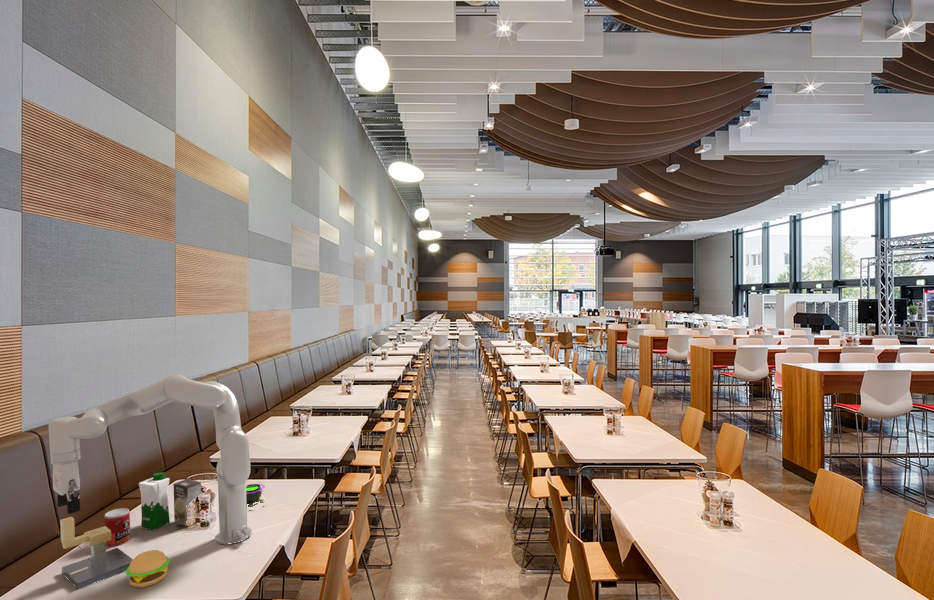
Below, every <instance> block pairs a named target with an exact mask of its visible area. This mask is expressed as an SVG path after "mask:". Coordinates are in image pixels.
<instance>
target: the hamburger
mask: <svg viewBox="0 0 934 600" xmlns="http://www.w3.org/2000/svg"><path fill="white" fill-rule="evenodd" d="M132 559H133V560H132V561H131V563H130V565H129V567H128V568H127V569H126V571H125V574H126V575H127V576H129V584H130V585H131V587H135V588H145V587H149V586H153V585H155V584H157V583H159V582H161V581H162V580H163V579H164V578H165V577H166V576H167V572H168V570H169V569H168V566H169V564H170V559H169V557H168V556H167V555H166V554H165V553H164V552H163V551H160V550H158V549H151V550H146V551H143V552H141V553H139V554H137V555H136V556H135V557H134V558H132Z"/></svg>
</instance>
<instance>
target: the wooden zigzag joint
mask: <svg viewBox="0 0 934 600" xmlns="http://www.w3.org/2000/svg"><path fill="white" fill-rule="evenodd" d="M59 523H60V524H59V525H60V542H61V544H62V545H61V546H62V548H63V550H66V549H69V548H73V547H75V546H79V545H82V544H86V545H87V546H88V547H90V548H91V546H94V545H97V544H100V543H103V542H105V543H106V541H109V540H111V530H110V529H108V528H107V527H106V526H105V525H104V526H101V527H97V528H94V529H92V530H88V531H85V532H83V534H81V535H78V536H76V534H75V533H76V531H75V530H76V529H75V518H74V517H73V516H69V517H65V518H63V519H59Z"/></svg>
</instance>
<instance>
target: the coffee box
mask: <svg viewBox="0 0 934 600" xmlns="http://www.w3.org/2000/svg"><path fill="white" fill-rule="evenodd" d="M199 494H201V495H202V483H201V481H197V480H194V479H191V478H186V479H184V480H183V479H182V480H180V481H178V482H174V483H173V511H174V514H173V515H174V516H173V517H174V518H173V519H174V524H177V523H179V524H178V525H180V524H182V525H181V526H183V525H185V524H186V521H187V512H186V505H187V507H188V505H189V503H190V502H191V501H192V500H193V499H195V498H197V497H198V496H199Z"/></svg>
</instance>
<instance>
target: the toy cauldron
mask: <svg viewBox="0 0 934 600" xmlns="http://www.w3.org/2000/svg"><path fill="white" fill-rule="evenodd" d="M248 482H251V480H248ZM265 488H266V486H265V485H264V484H263V483H261V480H259V483H250V484H246V502H247V504H249V505H248V507H253V506H255V505H258V503H256V504H254V505H253V503H255V502H259V501H260V503H264V502H265V501H264V499H260V497H262V494H263V492H264V489H265Z"/></svg>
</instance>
